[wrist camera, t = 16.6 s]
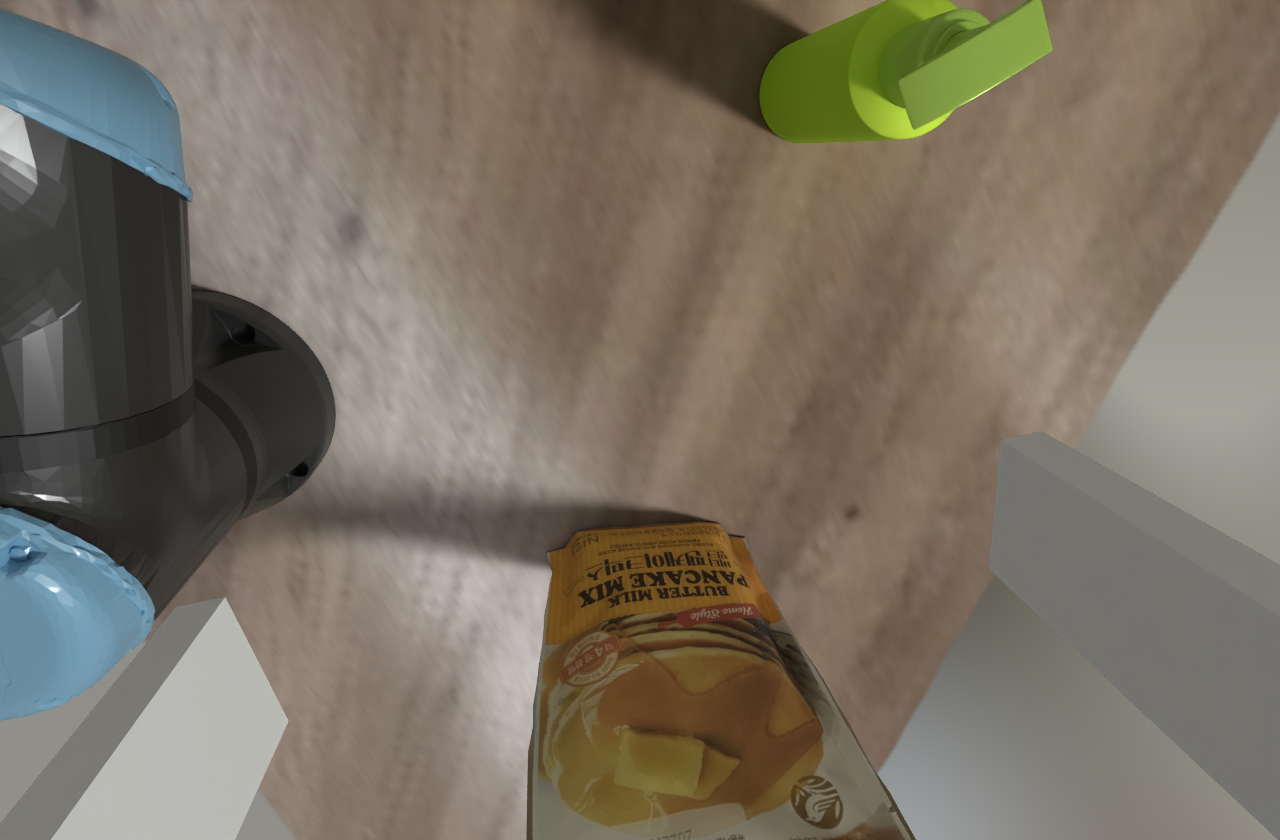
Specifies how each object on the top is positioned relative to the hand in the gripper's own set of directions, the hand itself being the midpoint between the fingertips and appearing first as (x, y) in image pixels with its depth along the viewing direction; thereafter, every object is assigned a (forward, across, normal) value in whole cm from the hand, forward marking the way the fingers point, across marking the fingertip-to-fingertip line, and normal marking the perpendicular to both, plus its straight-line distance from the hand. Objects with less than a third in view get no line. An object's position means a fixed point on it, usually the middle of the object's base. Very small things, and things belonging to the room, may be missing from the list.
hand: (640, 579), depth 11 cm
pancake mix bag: (+35, +2, -24) cm, 43 cm away
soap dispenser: (+35, +16, +8) cm, 39 cm away
